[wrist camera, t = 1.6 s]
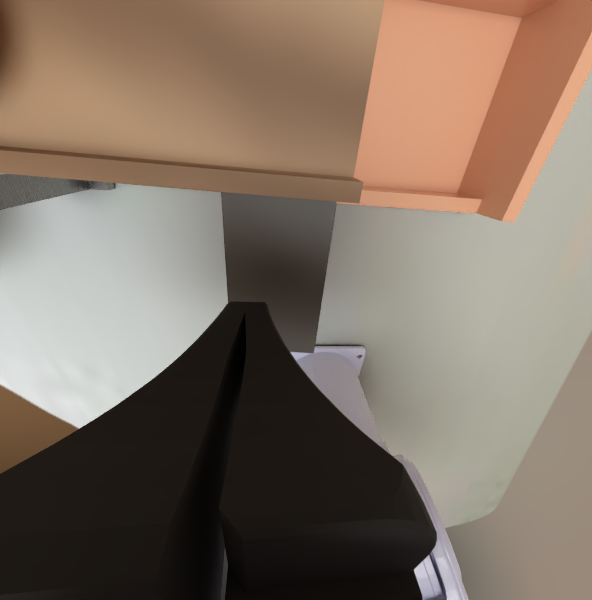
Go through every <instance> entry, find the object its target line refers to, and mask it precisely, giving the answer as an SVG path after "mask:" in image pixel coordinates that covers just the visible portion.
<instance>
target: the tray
mask: <svg viewBox="0 0 592 600" xmlns="http://www.w3.org/2000/svg"><path fill="white" fill-rule="evenodd" d="M591 69H592V0H384V6H383V12H382V17H381V23H380V29H379V35H378V40H377V46H376V52H375V57H374V63H373V69H372V75H371V80H370V86H369V92H368V98H367V103H366V109H365V115H364V120H363V126H362V132H361V138H360V143H359V149H358V155H357V160H356V166H355V172H354V178H356V179H358V180H360V181H362V182H363V187H362V192H361V197H360V202H359V204H358V203H347V202H337V203H336V204H351V205H365V206H380V207H394V208H409V209H423V210H437V211H452V212H466V213H477V214H481V215H484V216H487V217H490V218H493V219H496V220H499V221H506V222H515V221H516V219H517V217H518V215H519V213H520V211H521V209H522V207H523V205H524V203H525V201H526V199H527V197H528V195H529V193H530V191H531V189H532V187H533V185H534V183H535V181H536V179H537V177H538V175H539V173H540V171H541V169H542V167H543V165H544V163H545V161H546V159H547V157H548V155H549V153H550V151H551V149H552V147H553V145H554V143H555V141H556V139H557V137H558V135H559V133H560V131H561V129H562V127H563V125H564V123H565V121H566V119H567V117H568V115H569V113H570V111H571V109H572V107H573V105H574V103H575V101H576V99H577V97H578V95H579V93H580V91H581V89H582V87H583V85H584V83H585V81H586V79H587V77H588V75H589V73H590V71H591Z"/></svg>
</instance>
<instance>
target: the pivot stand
mask: <svg viewBox="0 0 592 600" xmlns="http://www.w3.org/2000/svg"><path fill="white" fill-rule="evenodd" d="M88 189H97V190H111V189H115V186H114V183H110V182H99V181H87V180H75V179H63V178H51V177H39V176H28V175H16V174H4V173H0V210H1V209H5V208H10V207H14V206H18V205H23V204H27V203H31V202H36V201H40V200H44V199H49V198H53V197H57V196H62V195H66V194H71V193H75V192H79V191H84V190H88Z"/></svg>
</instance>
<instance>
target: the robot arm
mask: <svg viewBox="0 0 592 600" xmlns="http://www.w3.org/2000/svg"><path fill="white" fill-rule="evenodd" d="M365 354H366V350H365V348H364V347H362V346H315V349H314V353H298V352H290V351H289V349H288V348H287V346H286V345H285V343H284V341H283V340H282V338H281V336H280V334H279V332H278V330H277V329H276V327H275V325H274V322H273V320H272V318H271V315H270V312H269V309H268V305H267V304H266V303H265V302H237V301H230V302H229V303H228V304H227V305H226V306H225V308H224V309H223V310H222V312H221V313H220V314H219V315H218V317H217V318H216V319H215V320H214V321H213V323H212V324H211V325H210V326H209V327H208V328H207V329H206V330H205V332H204V333H203V334H202V335H201V336H200V337H199V338H198V339H197V340H196V341H195V342H194V343H193V344H192V345H191V346H190V347H189V348H188V349H187V350H186V351H185V352H184V353H183V354H182V355H181V356H180V357H179V358H177V359H176V360H175V361H174V362H173V363H172V364H171V365H169V366H168V367H167V368H166V369H165V370H163V371H162V372H161V373H160V374H159V375H157V376H156V377H155V378H154V379H152V380H151V381H150V382H148V383H147V384H146V385H144V386H143V387H142V388H140V389H139V390H137V391H136V392H135V393H133V394H132V395H130V396H129V397H128V398H126V399H125V400H123V401H122V402H121V403H119V404H118V405H116V406H115V407H113V408H112V409H110V410H109V411H107V412H105V413H104V414H102V415H101V416H99V417H98V418H96V419H95V420H93V421H91V422H90V423H88V424H87V425H85V426H83V427H82V428H80V429H78V430H77V431H75V432H73V433H72V434H70V435H69V436H67V437H65V438H64V439H62V440H60V441H59V442H57V443H55V444H53V445H52V446H50V447H48V448H46V449H44V450H43V451H41V452H39V453H37V454H36V455H34V456H32V457H30V458H28V459H27V460H25V461H23V462H21V463H19V464H17V465H16V466H14V467H12V468H10V469H8V470H7V471H5V472H3V473H1V474H0V600H221V587H222V575H223V561H224V549H226V555H227V561H228V573H227V584H226V594H225V600H469V599H468V596H467V594H466V591H465V588H464V586H463V583H462V580H461V572H460V568H459V565H458V562H457V559H456V556H455V553H454V551H453V548H452V545H451V543H450V540H449V538H448V536H447V533H446V530H445V528H444V525H443V523H442V521H441V518H440V516H439V514H438V511H437V509H436V507H435V505H434V502H433V500H432V498H431V496H430V494H429V491H428V489H427V487H426V485H425V483H424V481H423V479H422V477H421V475H420V473H419V472H418V470H417V468H416V467H415V465H414V464H413V463H412V462H410V461H409V460H407V459H405V458H404V457H403V456H402V455H397V456H392V455H390V453H389V451H388V448H387V446H386V443H385V442H384V441H382V439H381V436H380V434H379V431H378V429H377V426H376V423H375V421H374V418H373V416H372V413H371V410H370V408H369V405H368V402H367V400H366V397H365V395H364V392H363V389H362V387H361V384H360V382H359V379H358V378H359V375H360V371H361V368H362V364H363V361H364V357H365ZM358 355H360V356H358Z"/></svg>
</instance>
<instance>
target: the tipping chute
mask: <svg viewBox="0 0 592 600" xmlns="http://www.w3.org/2000/svg"><path fill="white" fill-rule="evenodd" d="M383 6H384V0H0V173H4V174H16V175H28V176H39V177H51V178H63V179H75V180H87V181H99V182H110V183H122V184H134V185H146V186H158V187H169V188H181V189H193V190H205V191H217V192H221V196H222V212H223V228H224V244H225V260H226V276H227V292H228V303H229V302H230V301H237V302H265V303H266V304H267V305H268V309H269V312H270V315H271V318H272V320H273V322H274V325H275V327H276V329H277V330H278V332H279V334H280V336H281V338H282V340H283V341H284V343H285V345H286V346H287V348H288V349H289V351H290V352H298V353H314V349H315V342H316V335H317V329H318V322H319V316H320V309H321V302H322V296H323V289H324V283H325V276H326V269H327V263H328V256H329V250H330V243H331V236H332V230H333V223H334V217H335V210H336V203H337V202H347V203H358V204H359V202H360V197H361V192H362V187H363V182H362V181H360V180H358V179H356V178H354V172H355V166H356V160H357V155H358V149H359V143H360V138H361V132H362V126H363V120H364V115H365V109H366V103H367V98H368V92H369V86H370V80H371V75H372V69H373V63H374V57H375V52H376V46H377V40H378V35H379V29H380V23H381V17H382V12H383Z"/></svg>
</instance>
